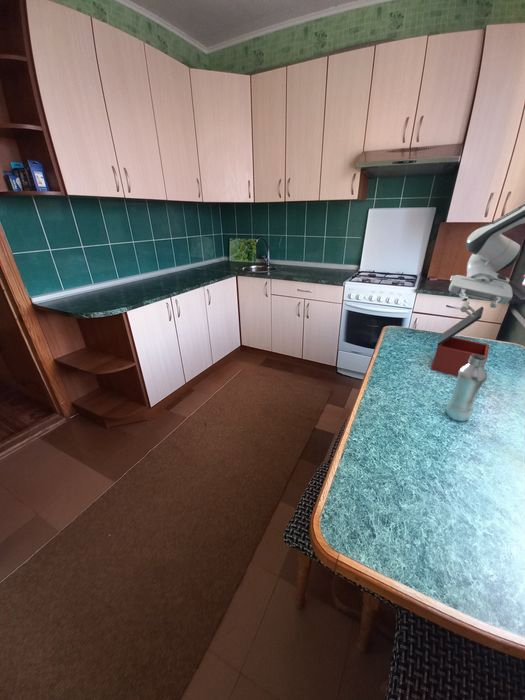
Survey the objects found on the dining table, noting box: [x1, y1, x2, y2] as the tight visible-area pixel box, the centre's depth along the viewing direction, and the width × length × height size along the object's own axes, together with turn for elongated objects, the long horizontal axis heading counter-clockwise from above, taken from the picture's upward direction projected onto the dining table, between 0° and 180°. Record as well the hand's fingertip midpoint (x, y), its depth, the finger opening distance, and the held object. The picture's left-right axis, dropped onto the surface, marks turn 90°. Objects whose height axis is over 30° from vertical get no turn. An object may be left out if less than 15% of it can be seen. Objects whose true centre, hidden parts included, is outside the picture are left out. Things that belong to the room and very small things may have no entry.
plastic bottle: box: [445, 354, 488, 422], centre depth 81 cm, size 6×7×20 cm
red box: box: [430, 336, 490, 377], centre depth 107 cm, size 15×12×10 cm
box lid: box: [437, 300, 484, 346], centre depth 104 cm, size 16×12×6 cm
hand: (479, 303), depth 106 cm, fingers open, 8 cm apart
